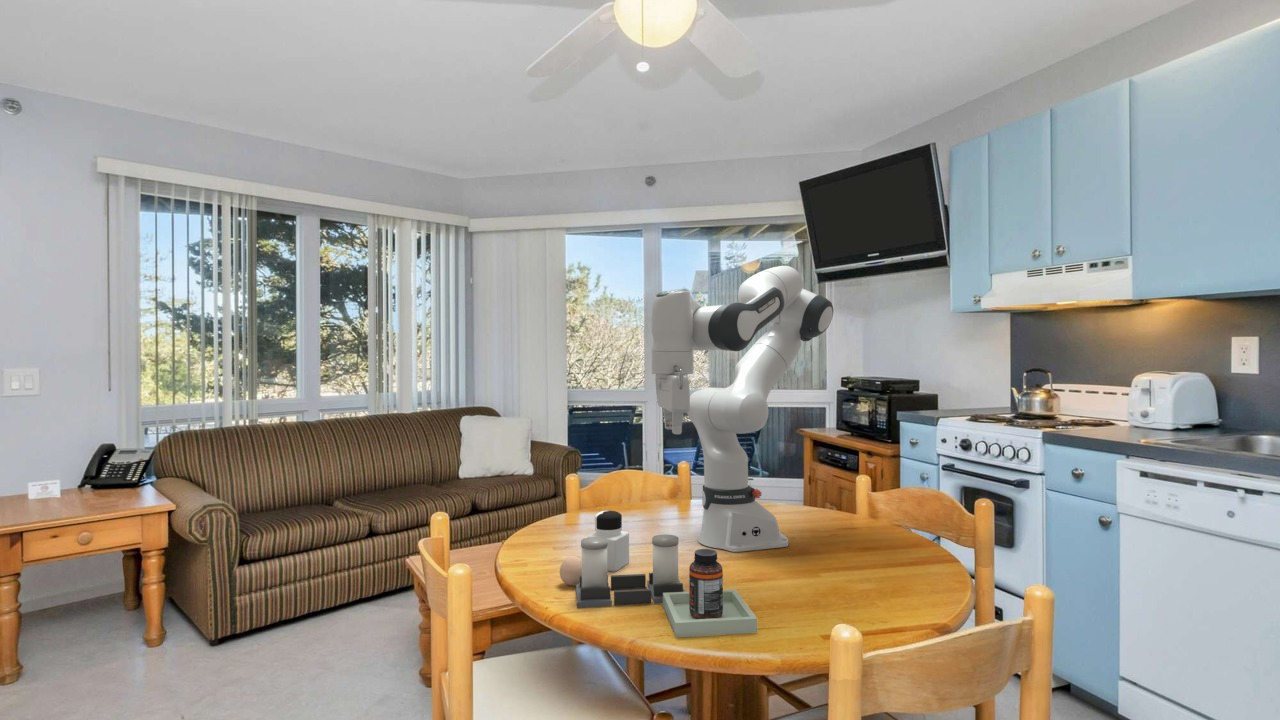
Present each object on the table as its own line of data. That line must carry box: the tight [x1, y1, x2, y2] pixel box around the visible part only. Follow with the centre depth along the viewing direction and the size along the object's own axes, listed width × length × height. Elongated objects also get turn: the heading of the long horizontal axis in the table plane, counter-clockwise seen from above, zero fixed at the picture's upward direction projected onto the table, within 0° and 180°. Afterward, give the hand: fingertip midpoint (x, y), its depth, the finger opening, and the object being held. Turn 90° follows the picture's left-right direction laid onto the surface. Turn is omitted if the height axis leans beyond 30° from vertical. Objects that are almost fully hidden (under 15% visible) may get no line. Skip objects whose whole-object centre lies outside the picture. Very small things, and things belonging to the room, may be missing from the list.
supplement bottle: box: [688, 548, 724, 619], centre depth 114 cm, size 6×6×11 cm
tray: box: [662, 588, 758, 638], centre depth 114 cm, size 14×14×2 cm
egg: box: [559, 555, 582, 586], centre depth 132 cm, size 5×5×6 cm
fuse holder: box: [575, 533, 686, 609], centre depth 126 cm, size 21×10×11 cm, turn 97°
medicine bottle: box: [586, 510, 630, 573], centre depth 144 cm, size 7×7×12 cm
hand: (672, 431), depth 135 cm, fingers open, 8 cm apart
